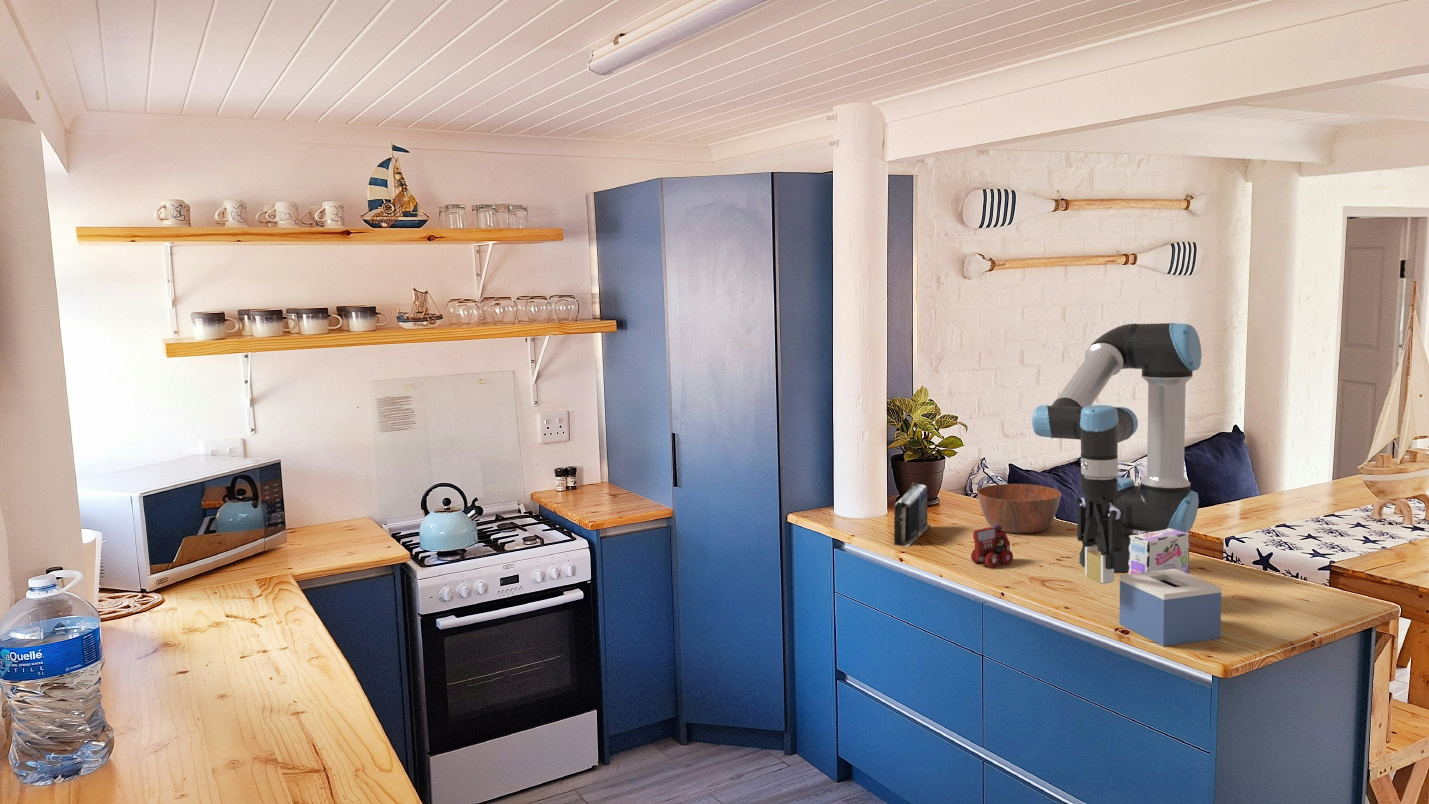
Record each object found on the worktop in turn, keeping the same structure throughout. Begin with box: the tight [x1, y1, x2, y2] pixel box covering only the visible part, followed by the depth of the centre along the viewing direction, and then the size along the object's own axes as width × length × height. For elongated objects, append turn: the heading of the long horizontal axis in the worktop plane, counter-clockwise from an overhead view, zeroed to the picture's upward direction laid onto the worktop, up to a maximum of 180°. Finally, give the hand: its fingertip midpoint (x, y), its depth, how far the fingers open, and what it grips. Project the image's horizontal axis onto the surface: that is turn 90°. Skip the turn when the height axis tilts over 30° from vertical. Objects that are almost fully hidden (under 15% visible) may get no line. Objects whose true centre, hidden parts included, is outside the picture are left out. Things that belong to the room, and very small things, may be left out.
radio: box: [892, 482, 932, 548], centre depth 286 cm, size 23×9×15 cm, turn 145°
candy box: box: [1127, 528, 1190, 574], centre depth 221 cm, size 14×6×16 cm, turn 114°
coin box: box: [1119, 569, 1222, 647], centre depth 202 cm, size 14×14×11 cm
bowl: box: [976, 483, 1062, 535], centre depth 292 cm, size 25×25×11 cm
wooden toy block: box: [1086, 550, 1112, 585], centre depth 208 cm, size 5×2×6 cm, turn 13°
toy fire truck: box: [970, 525, 1014, 569], centre depth 256 cm, size 7×12×10 cm, turn 118°
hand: (1099, 577), depth 208 cm, fingers closed on wooden toy block, 5 cm apart
